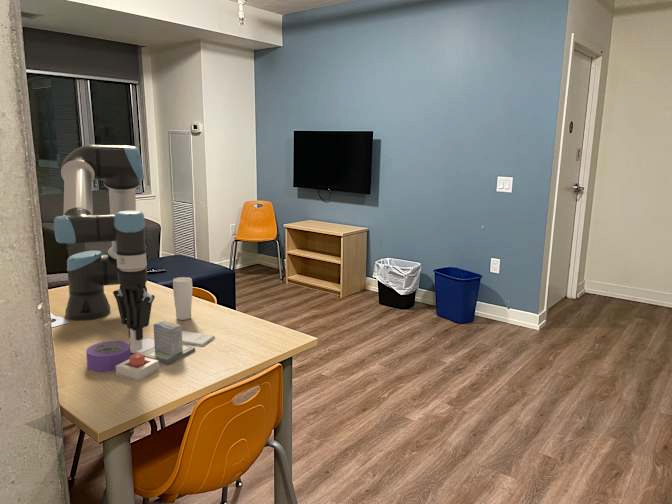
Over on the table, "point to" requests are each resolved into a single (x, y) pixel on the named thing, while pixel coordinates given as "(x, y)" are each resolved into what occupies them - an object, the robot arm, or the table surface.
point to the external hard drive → (196, 338)
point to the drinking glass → (183, 297)
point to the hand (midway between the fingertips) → (136, 349)
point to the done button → (137, 360)
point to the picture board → (164, 358)
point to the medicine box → (168, 337)
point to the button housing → (137, 369)
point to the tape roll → (107, 355)
